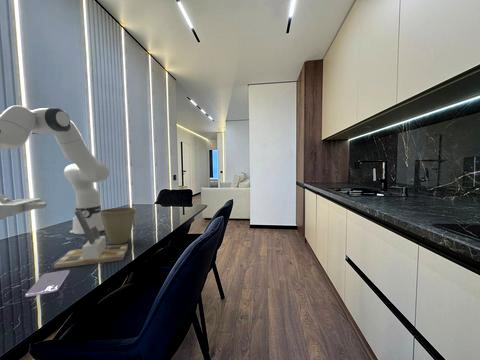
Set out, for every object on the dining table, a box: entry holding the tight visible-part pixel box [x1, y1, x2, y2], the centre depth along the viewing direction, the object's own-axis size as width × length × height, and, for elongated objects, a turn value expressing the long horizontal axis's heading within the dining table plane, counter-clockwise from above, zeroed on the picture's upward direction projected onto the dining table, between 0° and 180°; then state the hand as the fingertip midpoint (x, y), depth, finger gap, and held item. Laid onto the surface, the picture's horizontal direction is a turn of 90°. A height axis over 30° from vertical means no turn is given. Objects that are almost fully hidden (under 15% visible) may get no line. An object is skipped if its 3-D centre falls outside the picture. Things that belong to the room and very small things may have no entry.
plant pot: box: [100, 206, 136, 246], centre depth 110 cm, size 15×15×16 cm
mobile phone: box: [24, 269, 70, 298], centre depth 72 cm, size 8×1×15 cm
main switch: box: [74, 210, 96, 244], centre depth 88 cm, size 4×1×14 cm, turn 19°
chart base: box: [53, 243, 129, 270], centre depth 92 cm, size 15×22×2 cm
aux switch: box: [91, 226, 101, 239], centre depth 95 cm, size 4×1×5 cm, turn 19°
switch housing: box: [81, 235, 107, 260], centre depth 92 cm, size 13×5×5 cm, turn 19°
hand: (44, 205), depth 83 cm, fingers closed
